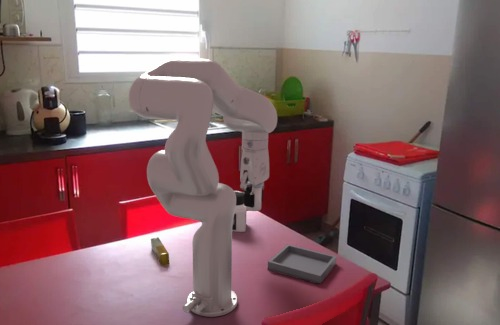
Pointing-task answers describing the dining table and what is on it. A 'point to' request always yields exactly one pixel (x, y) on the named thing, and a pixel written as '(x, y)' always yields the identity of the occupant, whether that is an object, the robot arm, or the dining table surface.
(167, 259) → the medication box
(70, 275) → the dining table surface
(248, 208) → the mushroom
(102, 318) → the dining table surface
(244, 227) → the container
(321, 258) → the tray
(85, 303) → the dining table surface
